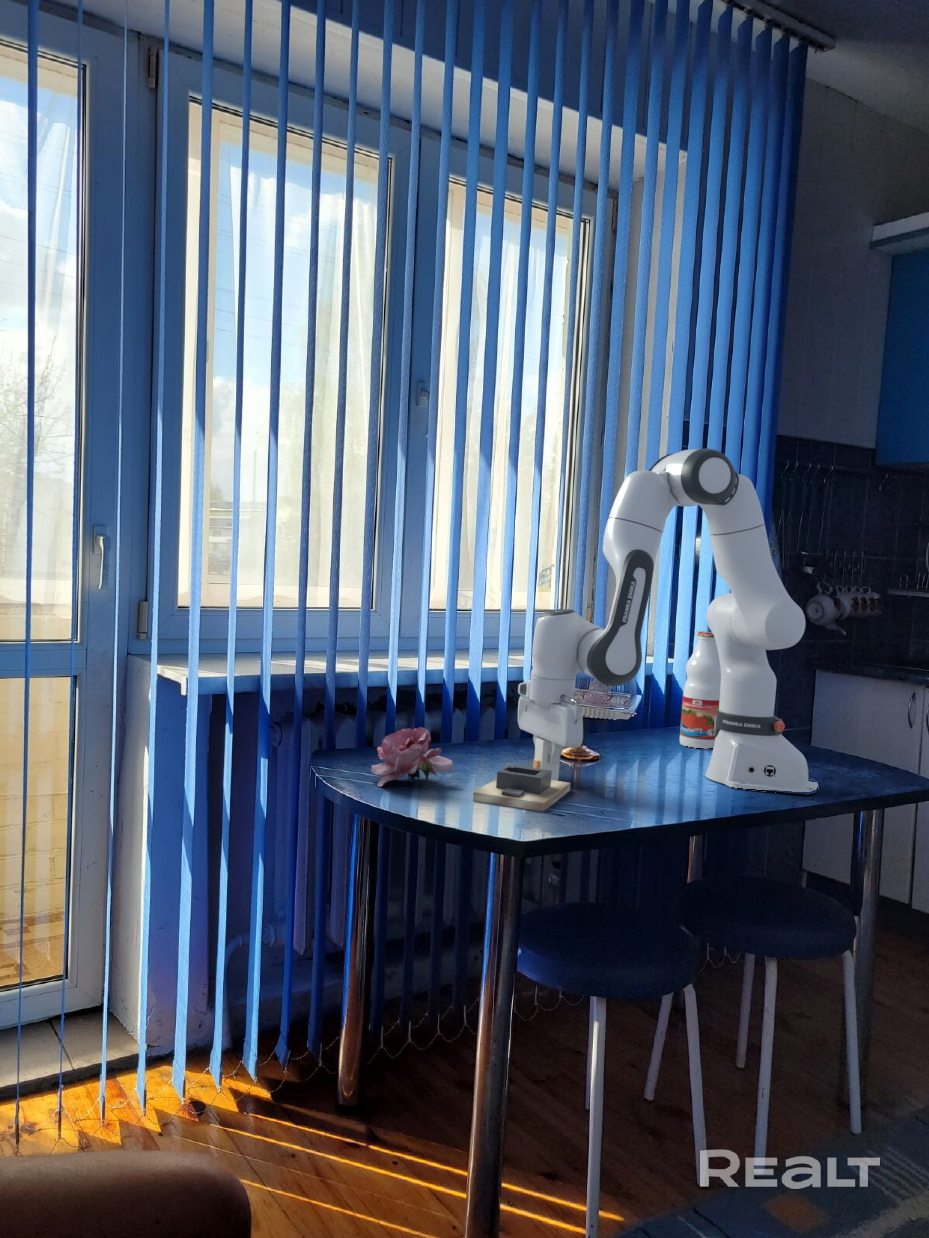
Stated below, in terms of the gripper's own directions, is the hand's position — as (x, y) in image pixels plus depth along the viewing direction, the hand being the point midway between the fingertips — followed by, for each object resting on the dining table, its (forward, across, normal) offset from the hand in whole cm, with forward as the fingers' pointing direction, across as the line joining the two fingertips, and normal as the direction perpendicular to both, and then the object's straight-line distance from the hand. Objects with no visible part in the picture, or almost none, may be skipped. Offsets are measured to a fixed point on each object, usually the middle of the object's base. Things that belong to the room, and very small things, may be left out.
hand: (547, 761), depth 198 cm
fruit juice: (+4, +26, -57) cm, 63 cm away
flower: (+4, +1, +28) cm, 29 cm away
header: (+2, -11, +11) cm, 15 cm away
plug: (+4, 0, 0) cm, 4 cm away
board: (+4, -11, +11) cm, 15 cm away
